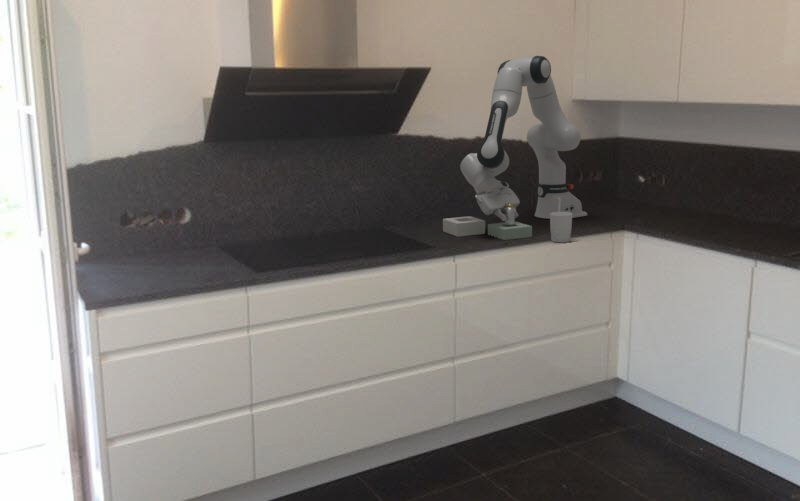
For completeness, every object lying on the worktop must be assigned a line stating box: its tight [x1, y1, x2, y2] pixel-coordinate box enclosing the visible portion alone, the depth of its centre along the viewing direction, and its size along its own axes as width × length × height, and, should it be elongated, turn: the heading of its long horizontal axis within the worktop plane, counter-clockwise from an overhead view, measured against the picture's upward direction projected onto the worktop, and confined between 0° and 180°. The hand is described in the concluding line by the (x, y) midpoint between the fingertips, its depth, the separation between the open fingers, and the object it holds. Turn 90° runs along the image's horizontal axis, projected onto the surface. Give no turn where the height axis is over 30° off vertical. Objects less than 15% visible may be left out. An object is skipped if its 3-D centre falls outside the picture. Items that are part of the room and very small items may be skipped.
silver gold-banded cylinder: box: [504, 203, 516, 227], centre depth 279 cm, size 4×4×12 cm
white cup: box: [549, 212, 573, 244], centre depth 268 cm, size 8×8×10 cm
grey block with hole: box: [442, 215, 486, 238], centre depth 288 cm, size 12×12×5 cm
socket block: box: [487, 221, 533, 241], centre depth 280 cm, size 12×12×4 cm
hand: (511, 218), depth 278 cm, fingers open, 6 cm apart
